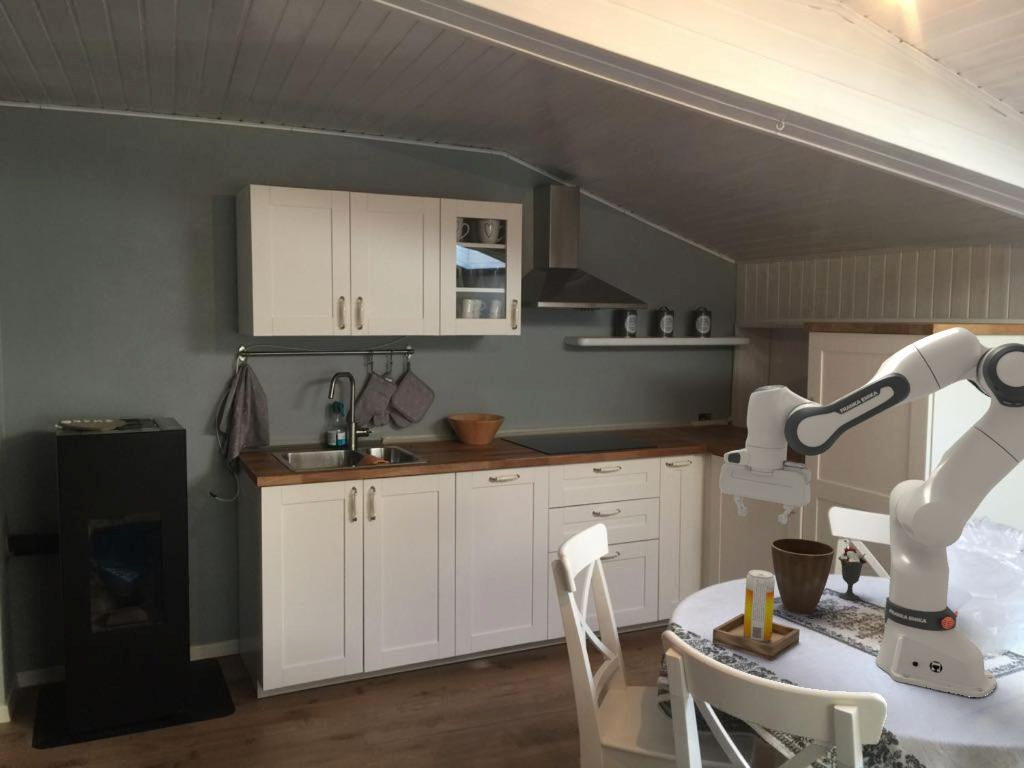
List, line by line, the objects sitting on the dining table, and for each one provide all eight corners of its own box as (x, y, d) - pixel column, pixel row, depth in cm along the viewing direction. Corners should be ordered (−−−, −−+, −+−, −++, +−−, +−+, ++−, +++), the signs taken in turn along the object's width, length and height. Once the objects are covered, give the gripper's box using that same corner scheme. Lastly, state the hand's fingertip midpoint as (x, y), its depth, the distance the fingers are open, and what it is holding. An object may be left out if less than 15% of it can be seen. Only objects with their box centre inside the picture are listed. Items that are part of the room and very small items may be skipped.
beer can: (769, 634, 196) (773, 570, 194) (772, 645, 190) (776, 579, 188) (742, 632, 197) (745, 568, 195) (744, 642, 191) (747, 576, 189)
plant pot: (754, 604, 218) (758, 542, 216) (793, 594, 226) (797, 534, 225) (804, 623, 206) (808, 558, 204) (843, 612, 214) (847, 549, 212)
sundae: (830, 593, 228) (833, 538, 226) (851, 591, 230) (855, 536, 228) (846, 602, 221) (850, 545, 220) (868, 600, 223) (872, 543, 222)
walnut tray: (798, 642, 194) (799, 629, 194) (771, 660, 184) (772, 647, 184) (741, 625, 203) (742, 613, 203) (712, 642, 193) (713, 629, 193)
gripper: (817, 462, 187) (813, 525, 188) (730, 450, 200) (727, 508, 201) (805, 466, 182) (801, 530, 183) (717, 453, 195) (714, 513, 197)
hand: (762, 519), depth 192 cm, fingers open, 8 cm apart
